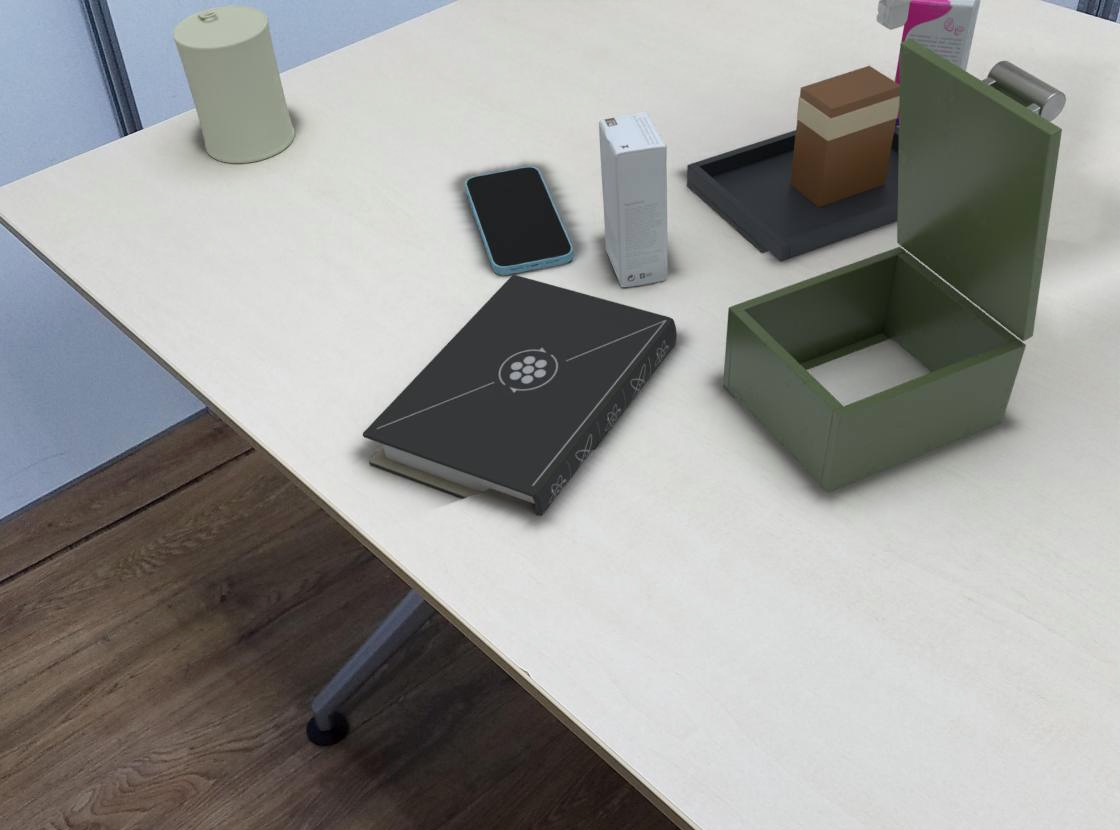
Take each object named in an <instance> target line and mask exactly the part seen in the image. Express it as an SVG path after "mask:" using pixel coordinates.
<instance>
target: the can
mask: <svg viewBox="0 0 1120 830" xmlns="http://www.w3.org/2000/svg"><path fill="white" fill-rule="evenodd" d="M172 38H173V41H174V43H175V45H176V49H177V52H178V55H179V58H180V62H181V64H182V68H183V71H184V75H185V77H186V80H187V84H188V87H189V90H190V94H191V97H192V101H193V104H194V108H195V111H196V114H197V118H198V121H199V125H200V128H201V132H202V136H203V140H204V148H205V151H206V152H207V154H208V156H210V157H211V158H213V159H215V160H216V161H219V162H223V163H227V164H248V163H254V162H260V161H263V160H266V159H269V158H272V157H274V156H276V155H278V154H279V153H281V152H283V151H284V150H286V149H287V148H288V147H289V146H290V145H291V144H292V142H293V141H294V140H295V135H296V134H295V133H296V132H295V128H294V126H293V123H292V119H291V116H290V113H289V108H288V105H287V100H286V97H285V93H284V87H283V83H282V80H281V75H280V71H279V67H278V62H277V59H276V58H277V57H276V54H275V48H274V43H273V39H272V35H271V31H270V26H269V18H268V16H267V14H266V13H265V12H264V11H262V10H260V9H258V8H256V7H253V6H247V5H223V6H217V7H211V8H207V9H205V10H201V11H198V12H196V13H194V14H191V15H189V16H188V17H185V18H184V19H183V20H181V21H180V22H179V23H177V24H176V26H175V27H174V29H173V31H172Z"/></svg>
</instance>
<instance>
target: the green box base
mask: <svg viewBox="0 0 1120 830" xmlns="http://www.w3.org/2000/svg"><path fill="white" fill-rule="evenodd" d="M726 323H727V324H726V336H725V337H726V339H725V351H724V365H723V377H722V378H723V379H722V380H723V381H722V387H723V388H725V390H726V391H727V392H728V393H729V394H730V395H731V396H732V397H733V398H737V399H738V400H739V401H740V402H741V403H742V404H743V405H744V406H745V407H746V408H747V409H748V410H749V411H750V412H751V413H752V414H753V415H754V417H756V418H757V420H758V421H759V422H760V423H761V424H762V425H763V426H764V427H765V428H766V430H768V432H769V433H770V434H771V435H772V436H773V437H774V438H775V439H776V440H777V441H778V442H779V443H780V444H781V445H782V446H783V447H784V448H785V450H787V452H788V453H790V455H791V456H792V457H793V458H794V459H795V460H796V462H798V464H800V465H801V466H802V467H803V469H804V470H806V471H807V473H808V474H809V475H810V476H811V477H812V478H813V479H814V480H815V481H816V482H817V483H818V484H819V486H821V488H822V489H823V490H824V491H825V492H826V493H831V492H833V491H836V490H838V489H840V488H843V487H845V486H847V485H850V484H853V483H856V482H858V481H860V480H863V479H865V478H867V477H870V476H873V475H875V474H877V473H880V472H883V471H885V470H887V469H890V468H892V467H895V466H897V465H900V464H903V463H904V462H908V461H910V460H912V459H914V458H915V459H916V458H917V457H919V456H922V455H924V454H927V453H930V452H932V451H935V450H937V449H939V448H943V447H944V446H947V445H949V444H952V443H954V442H957V441H959V440H962V439H964V438H967V437H969V436H972V435H974V434H977V433H979V432H982V431H984V430H987V429H989V428H991V427H994V426H996V425H1000V424H1001V423H1003V421H1004V418H1005V415H1006V411H1007V408H1008V405H1009V402H1010V399H1011V395H1012V391H1013V390H1014V385H1015V382H1016V379H1017V376H1018V373H1019V369H1020V366H1021V363H1022V360H1023V357H1024V354H1025V351H1026V347H1027V345H1026V344H1025V343H1024V341H1022V340H1021V339H1019V338H1018V337H1017V336H1016V335H1014V334H1013V333H1012V332H1010V331H1009V330H1008V329H1007V328H1005V327H1004V326H1003V325H1001V324H1000V323H999V322H998V321H996V320H995V319H994V318H993V317H991V316H990V315H989V314H987V313H986V312H985V311H984V310H982V309H981V308H980V307H978V306H977V305H976V304H975V303H973V302H972V301H971V300H969V299H968V298H967V297H966V296H964V295H963V294H962V293H961V292H959V291H958V290H957V289H955V288H954V287H953V286H952V285H950V284H949V283H948V282H946V281H945V280H944V279H943V278H941V277H940V276H939V275H938V274H936V273H935V272H934V271H932V270H931V269H930V268H929V267H927V266H926V265H925V264H923V263H922V262H921V261H920V260H918V259H917V258H916V257H914V256H913V255H912V254H911V253H909V252H908V251H907V250H906V249H904V248H903V247H902V246H898V247H894V248H892V249H890V250H886V251H884V252H881V253H878V254H875V255H872V256H869V257H866V258H863V259H861V260H858V261H855V262H853V263H850V264H847V265H844V266H841V267H839V268H836V269H833V270H830V271H827V272H825V273H821V274H818V275H816V276H814V277H810V278H807V279H804V280H802V281H798V282H796V283H794V284H790V285H787V286H785V287H782V288H779V289H776V290H774V291H770V292H768V293H765V294H762V295H759V296H757V297H754V298H751V299H748V300H745V301H743V302H740V303H736V304H734V305H731V306H729V307H728V311H727V321H726ZM891 339H892V340H893V341H895V342H896V343H897V344H898V345H899V346H900V347H902V348H903V349H904V350H905V351H906V352H908V354H910V355H911V356H912V357H913V358H915V359H916V360H917V361H918V363H920V364H921V365H922V366H923V367H925V368H926V369H927V370H928V371H929V373H927V374H924V375H922V376H918V377H915V378H914V379H911V380H909V381H906V382H903V383H900V384H898V385H896V386H893V387H891V388H887V389H885V390H883V391H880V392H878V393H875V394H872V395H869V396H867V397H864V398H862V399H859V400H856V401H854V402H852V403H849V404H847V405H843V404H842V403H841V402H840V401H839V400H838V399H837V398H836V397H835V396H834V395H833V394H832V393H831V392H830V391H828V389H826V388H825V386H824V385H822V384H821V382H819V381H818V380H817V379H816V378H815V377H814V376H813V375H812V374H811V373H810V372H809V370H810V369H813V368H815V367H818V366H822V365H824V364H826V363H829V362H832V361H835V360H837V359H840V358H842V357H845V356H849V355H850V354H853V353H855V352H856V353H857V352H859V351H861V350H864V349H866V348H870V347H872V346H875V345H878V344H880V343H883V342H886V341H888V340H891Z"/></svg>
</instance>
